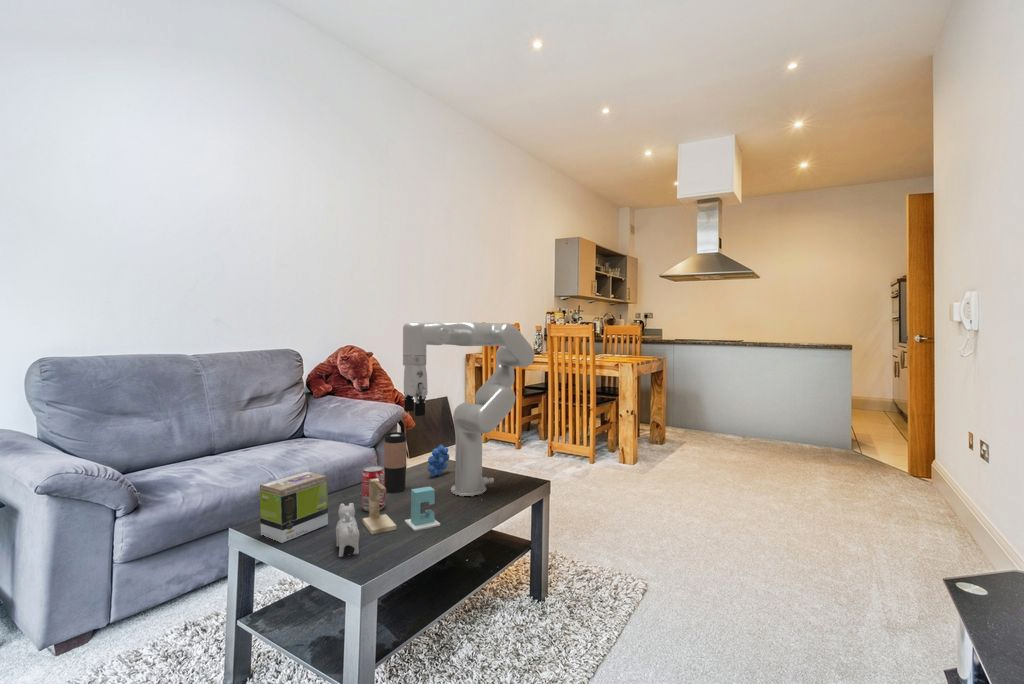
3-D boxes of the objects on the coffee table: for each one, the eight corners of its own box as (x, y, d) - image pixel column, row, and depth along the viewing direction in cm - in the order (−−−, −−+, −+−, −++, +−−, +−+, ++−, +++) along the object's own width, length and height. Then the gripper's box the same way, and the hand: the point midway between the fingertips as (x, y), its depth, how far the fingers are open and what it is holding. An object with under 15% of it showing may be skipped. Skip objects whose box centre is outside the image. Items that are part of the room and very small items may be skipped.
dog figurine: (354, 536, 134) (354, 498, 134) (361, 555, 123) (361, 513, 123) (333, 539, 132) (333, 500, 132) (339, 559, 120) (339, 516, 120)
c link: (430, 517, 147) (430, 486, 147) (434, 521, 144) (434, 489, 143) (410, 521, 144) (411, 489, 143) (415, 525, 140) (415, 492, 140)
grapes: (440, 470, 199) (440, 441, 199) (453, 473, 195) (453, 443, 195) (420, 477, 190) (420, 446, 190) (432, 480, 186) (433, 449, 186)
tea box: (306, 518, 147) (306, 470, 146) (328, 525, 142) (328, 475, 141) (258, 536, 134) (258, 482, 133) (281, 544, 129) (281, 489, 128)
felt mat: (429, 516, 149) (429, 515, 149) (440, 525, 142) (440, 523, 142) (404, 521, 145) (404, 520, 145) (414, 531, 138) (414, 529, 138)
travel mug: (380, 489, 175) (380, 433, 174) (399, 484, 180) (399, 431, 179) (390, 494, 169) (390, 437, 169) (409, 489, 174) (410, 434, 174)
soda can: (378, 513, 151) (378, 472, 151) (357, 511, 153) (357, 470, 152) (388, 505, 158) (389, 466, 158) (368, 503, 160) (368, 464, 159)
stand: (385, 517, 148) (385, 477, 148) (396, 529, 139) (396, 486, 139) (362, 521, 144) (362, 480, 144) (372, 534, 135) (372, 490, 135)
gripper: (435, 362, 152) (435, 416, 152) (416, 359, 167) (415, 408, 167) (413, 362, 148) (412, 418, 148) (394, 359, 163) (394, 410, 163)
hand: (414, 413), depth 158 cm, fingers open, 9 cm apart
